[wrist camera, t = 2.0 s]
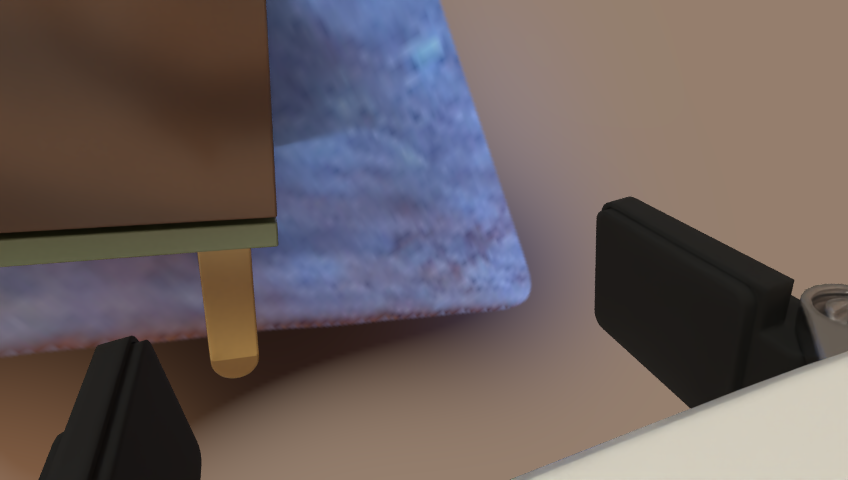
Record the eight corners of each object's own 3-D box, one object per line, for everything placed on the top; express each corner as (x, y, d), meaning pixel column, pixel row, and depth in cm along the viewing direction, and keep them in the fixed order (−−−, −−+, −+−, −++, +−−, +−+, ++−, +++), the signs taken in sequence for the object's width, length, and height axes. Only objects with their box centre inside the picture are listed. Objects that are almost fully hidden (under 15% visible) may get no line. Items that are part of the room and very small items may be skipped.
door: (266, 256, 35) (286, 392, 23) (11, 276, 30) (-126, 458, 19) (258, 135, 31) (277, 222, 20) (-28, 138, 27) (-225, 253, 15)
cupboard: (258, 130, 31) (277, 217, 19) (-28, 132, 27) (-232, 247, 15) (246, -62, 27) (260, -102, 15) (-94, -97, 23) (-447, -190, 11)
